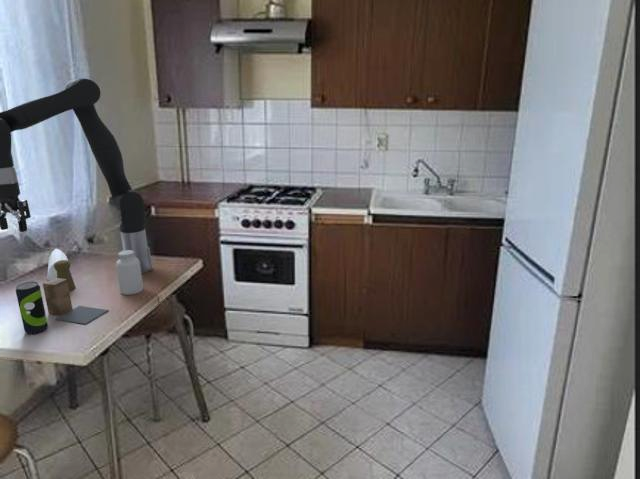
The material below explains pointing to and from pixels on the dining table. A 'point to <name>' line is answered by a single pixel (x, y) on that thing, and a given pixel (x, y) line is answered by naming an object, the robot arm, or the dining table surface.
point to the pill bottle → (129, 273)
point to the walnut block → (57, 296)
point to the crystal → (54, 257)
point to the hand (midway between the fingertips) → (14, 230)
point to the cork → (64, 272)
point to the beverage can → (31, 307)
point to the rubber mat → (82, 315)
